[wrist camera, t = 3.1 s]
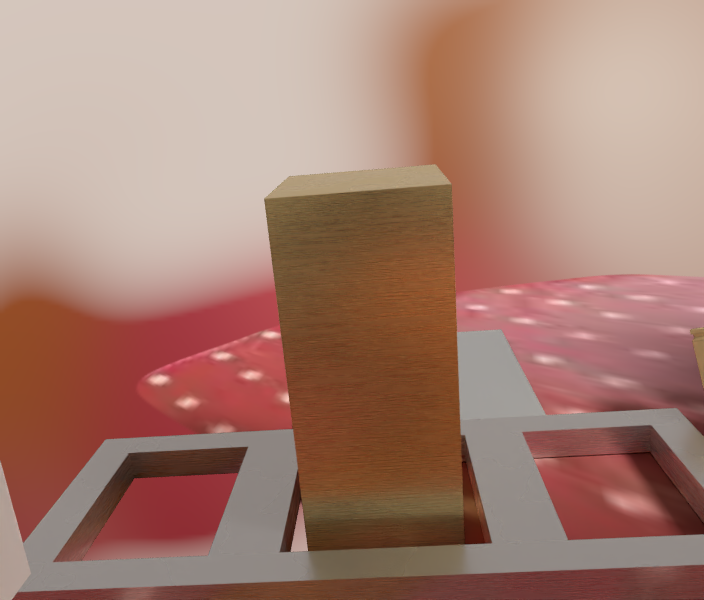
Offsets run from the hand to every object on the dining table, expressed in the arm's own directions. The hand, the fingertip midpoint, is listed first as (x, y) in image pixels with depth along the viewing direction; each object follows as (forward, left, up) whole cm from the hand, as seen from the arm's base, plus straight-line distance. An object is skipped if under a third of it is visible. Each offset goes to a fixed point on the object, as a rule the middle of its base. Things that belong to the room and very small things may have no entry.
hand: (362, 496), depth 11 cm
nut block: (-7, -7, -8) cm, 12 cm away
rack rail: (-7, -7, -8) cm, 12 cm away
